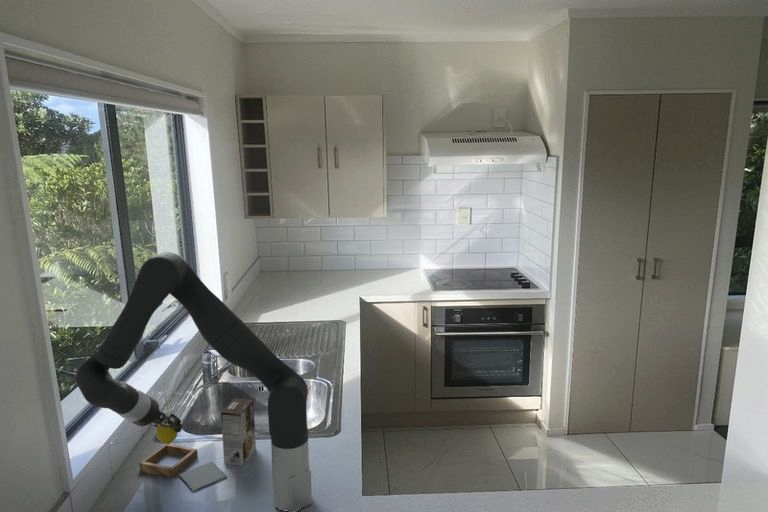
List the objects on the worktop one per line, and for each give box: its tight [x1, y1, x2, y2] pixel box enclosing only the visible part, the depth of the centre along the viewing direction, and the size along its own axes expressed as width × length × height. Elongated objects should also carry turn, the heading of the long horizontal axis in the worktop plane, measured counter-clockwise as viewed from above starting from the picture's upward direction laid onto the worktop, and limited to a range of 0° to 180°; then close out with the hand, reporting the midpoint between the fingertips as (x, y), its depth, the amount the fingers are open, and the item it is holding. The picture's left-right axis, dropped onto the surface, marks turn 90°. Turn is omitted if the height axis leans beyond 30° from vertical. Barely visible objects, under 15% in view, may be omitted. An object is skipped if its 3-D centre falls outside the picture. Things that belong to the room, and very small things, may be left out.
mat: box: [178, 461, 228, 492], centre depth 148 cm, size 10×10×1 cm
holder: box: [138, 443, 199, 479], centre depth 154 cm, size 11×11×2 cm
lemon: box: [156, 420, 179, 444], centre depth 152 cm, size 6×6×8 cm
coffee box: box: [220, 398, 257, 466], centre depth 157 cm, size 9×6×16 cm
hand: (171, 427), depth 154 cm, fingers closed on lemon, 5 cm apart
